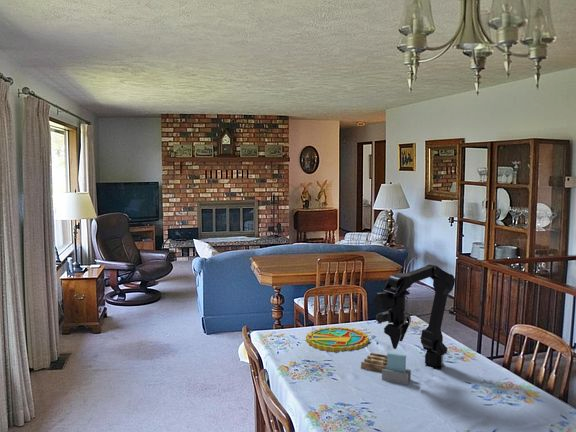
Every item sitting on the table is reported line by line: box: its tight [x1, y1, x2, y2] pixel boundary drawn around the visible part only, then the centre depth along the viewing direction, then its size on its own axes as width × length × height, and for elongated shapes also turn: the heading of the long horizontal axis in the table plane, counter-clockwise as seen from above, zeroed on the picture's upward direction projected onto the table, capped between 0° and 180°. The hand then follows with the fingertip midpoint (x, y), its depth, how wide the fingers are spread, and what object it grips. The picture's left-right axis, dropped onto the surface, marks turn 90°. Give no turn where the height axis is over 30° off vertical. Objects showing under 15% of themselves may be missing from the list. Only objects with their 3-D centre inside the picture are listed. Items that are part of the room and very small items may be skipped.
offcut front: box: [369, 355, 385, 362], centre depth 212 cm, size 6×2×4 cm, turn 62°
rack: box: [359, 352, 387, 373], centre depth 212 cm, size 11×12×3 cm
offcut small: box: [371, 359, 384, 365], centre depth 208 cm, size 5×2×4 cm, turn 62°
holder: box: [381, 365, 412, 385], centre depth 198 cm, size 10×5×4 cm, turn 62°
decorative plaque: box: [305, 326, 370, 353], centre depth 244 cm, size 30×3×30 cm
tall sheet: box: [386, 352, 407, 373], centre depth 197 cm, size 7×2×10 cm, turn 62°
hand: (397, 344), depth 201 cm, fingers open, 9 cm apart
